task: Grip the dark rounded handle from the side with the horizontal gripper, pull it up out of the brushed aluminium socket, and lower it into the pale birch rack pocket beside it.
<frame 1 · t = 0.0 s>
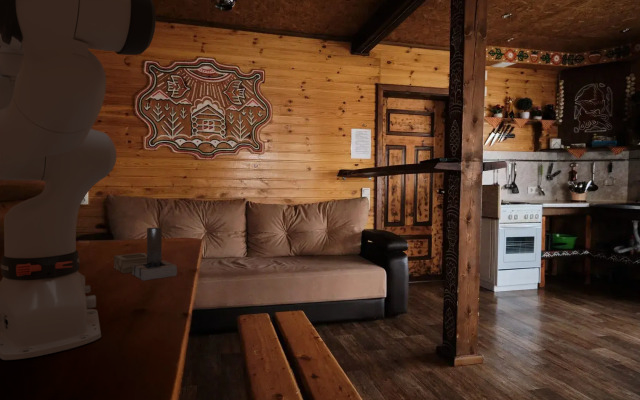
hand: (24, 133, 89), 39 cm above the table, tool pointing down, fingers open, 8 cm apart
socket: (154, 274, 115), on the table
rack: (133, 268, 122), on the table
dark rounded handle: (154, 251, 115), in the socket
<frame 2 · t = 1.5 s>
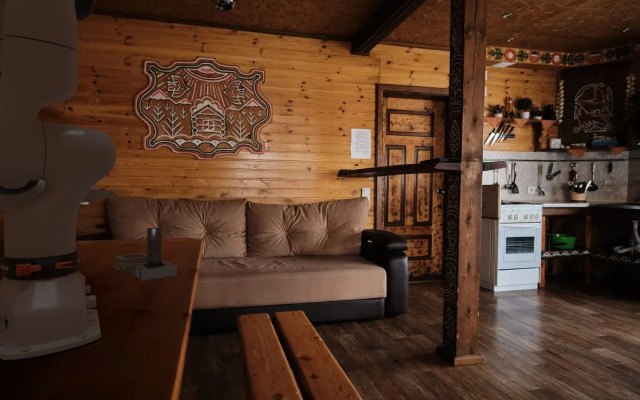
hand: (109, 192, 106), 25 cm above the table, tool horizontal, fingers open, 8 cm apart
nothing on the table moved.
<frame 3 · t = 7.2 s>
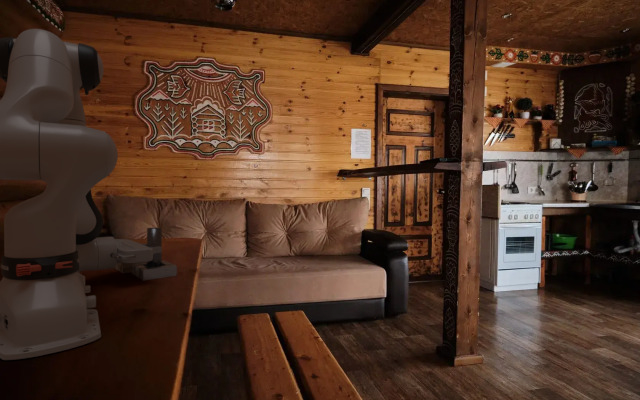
hand: (157, 247, 115), 8 cm above the table, tool horizontal, fingers closed on dark rounded handle, 4 cm apart
dark rounded handle: (154, 251, 115), in the socket, touching gripper
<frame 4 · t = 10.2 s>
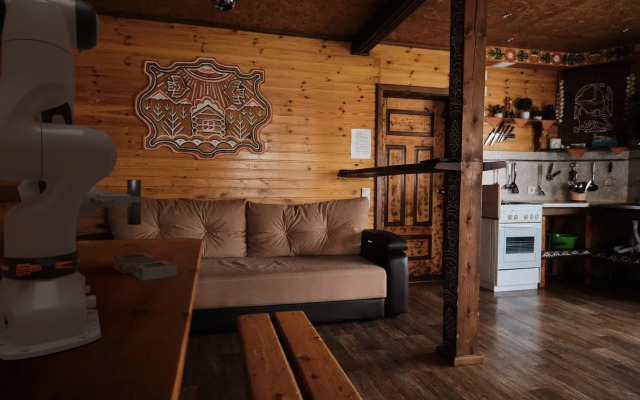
hand: (137, 198, 122), 22 cm above the table, tool horizontal, fingers closed on dark rounded handle, 4 cm apart
dark rounded handle: (134, 202, 122), point 21 cm above the table, touching gripper
when the fingers open (9 cm above the table, at t = 13.4 s): dark rounded handle drops 1 cm, resting in rack.
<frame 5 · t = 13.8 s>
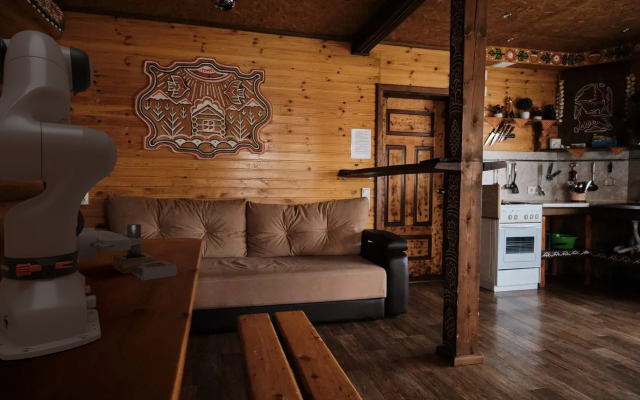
hand: (136, 238, 123), 9 cm above the table, tool horizontal, fingers open, 8 cm apart
dark rounded handle: (133, 246, 122), in the rack
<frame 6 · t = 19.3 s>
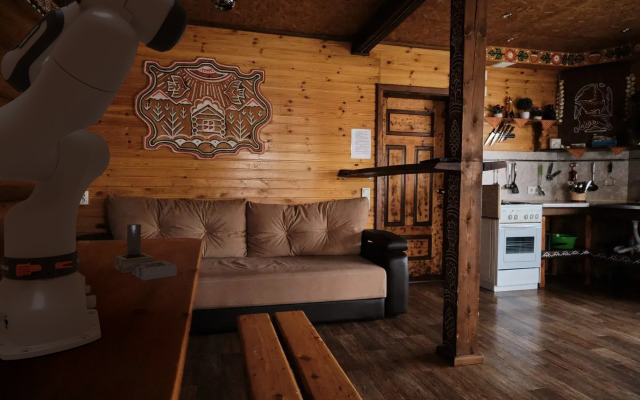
hand: (57, 167, 102), 31 cm above the table, tool pointing down, fingers open, 8 cm apart
nothing on the table moved.
at the end: dark rounded handle 0.0 cm off-centre on the rack, point 7.0 cm above the rack's base; dark rounded handle tilted 1°; the gripper is holding nothing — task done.
